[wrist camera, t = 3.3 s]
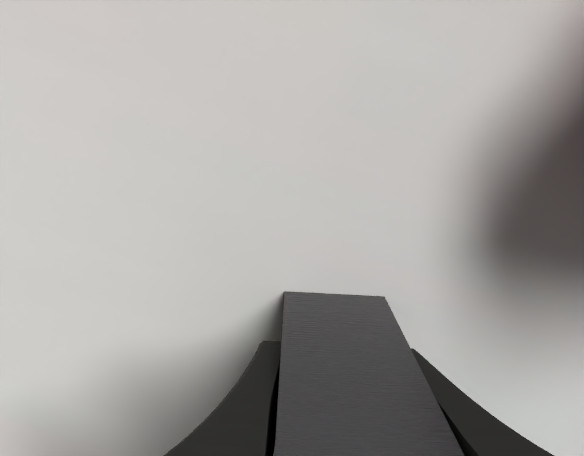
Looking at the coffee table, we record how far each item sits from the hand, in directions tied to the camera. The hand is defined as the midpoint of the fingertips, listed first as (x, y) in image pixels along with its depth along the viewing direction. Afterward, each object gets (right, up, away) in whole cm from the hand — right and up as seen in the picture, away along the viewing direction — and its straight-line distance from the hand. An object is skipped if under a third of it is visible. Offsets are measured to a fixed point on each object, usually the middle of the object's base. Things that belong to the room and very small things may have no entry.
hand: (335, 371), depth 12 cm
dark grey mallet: (0, -6, +4) cm, 7 cm away
